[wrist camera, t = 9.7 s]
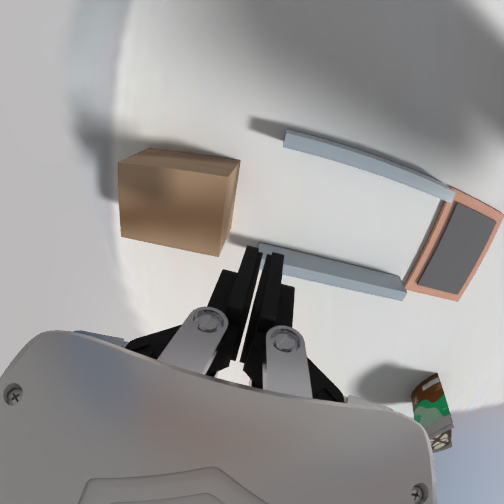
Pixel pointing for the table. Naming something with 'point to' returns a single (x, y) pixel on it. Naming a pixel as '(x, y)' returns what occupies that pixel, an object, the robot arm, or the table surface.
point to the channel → (338, 271)
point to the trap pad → (454, 247)
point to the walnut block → (177, 199)
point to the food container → (433, 412)
